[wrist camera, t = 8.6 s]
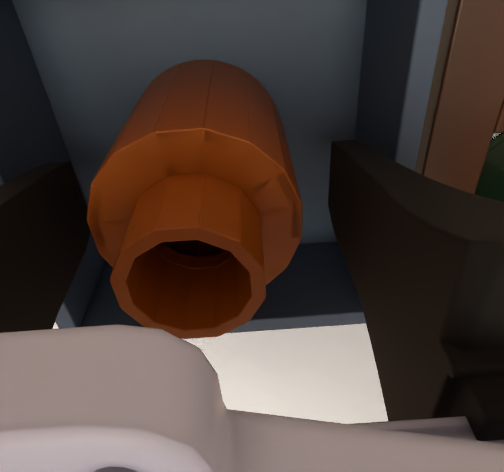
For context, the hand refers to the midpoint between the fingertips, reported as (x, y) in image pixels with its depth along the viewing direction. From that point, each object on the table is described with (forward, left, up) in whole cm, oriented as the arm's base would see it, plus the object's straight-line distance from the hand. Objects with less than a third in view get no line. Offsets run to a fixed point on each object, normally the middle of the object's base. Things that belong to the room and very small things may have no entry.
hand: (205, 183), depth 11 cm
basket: (0, 0, -4) cm, 4 cm away
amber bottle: (0, 0, -3) cm, 3 cm away
